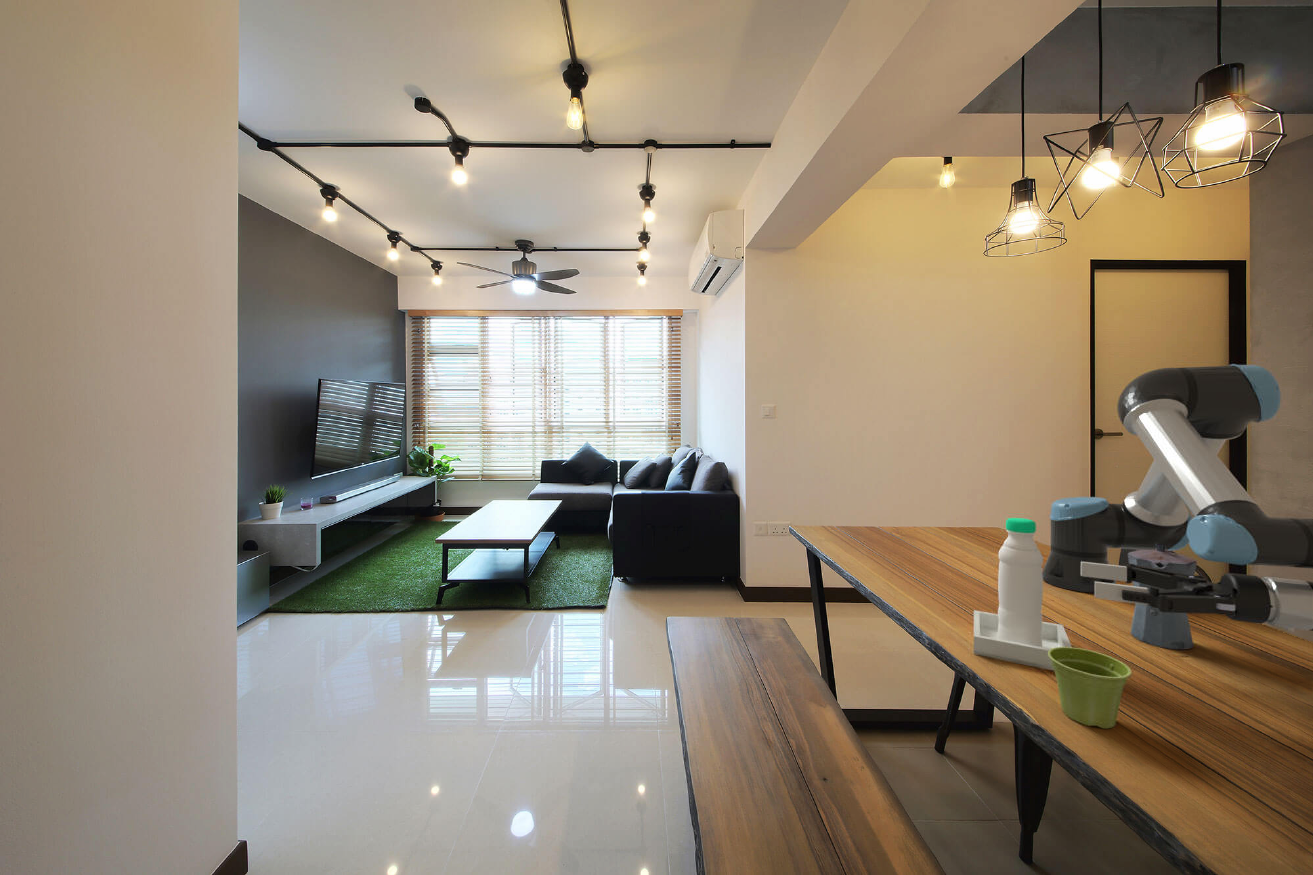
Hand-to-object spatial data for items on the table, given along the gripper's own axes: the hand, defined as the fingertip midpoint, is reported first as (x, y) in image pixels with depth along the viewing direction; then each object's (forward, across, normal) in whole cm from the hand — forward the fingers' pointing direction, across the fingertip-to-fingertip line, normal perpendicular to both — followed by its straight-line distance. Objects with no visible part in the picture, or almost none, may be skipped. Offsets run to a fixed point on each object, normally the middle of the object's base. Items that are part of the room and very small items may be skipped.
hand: (1087, 578), depth 90 cm
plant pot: (+3, -22, -16) cm, 27 cm away
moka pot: (-14, +19, -16) cm, 28 cm away
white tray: (+10, 0, -16) cm, 19 cm away
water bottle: (+10, 0, -15) cm, 18 cm away
